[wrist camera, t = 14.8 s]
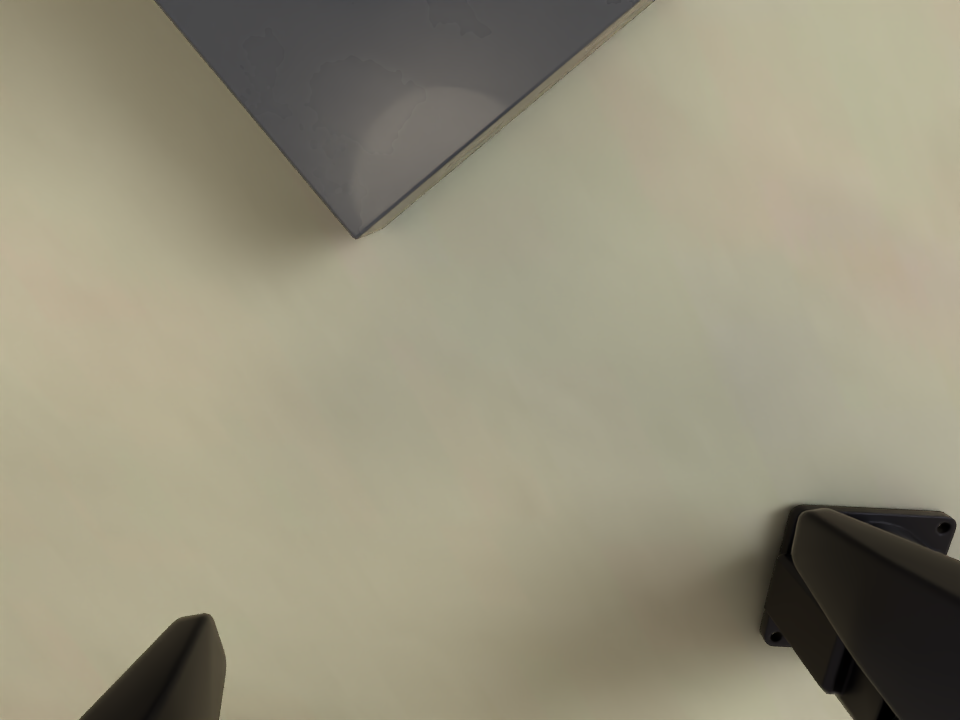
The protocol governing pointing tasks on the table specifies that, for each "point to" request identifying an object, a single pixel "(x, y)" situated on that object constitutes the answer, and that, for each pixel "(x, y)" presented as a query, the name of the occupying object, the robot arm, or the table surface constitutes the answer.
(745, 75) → the table surface
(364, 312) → the table surface
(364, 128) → the grey base
